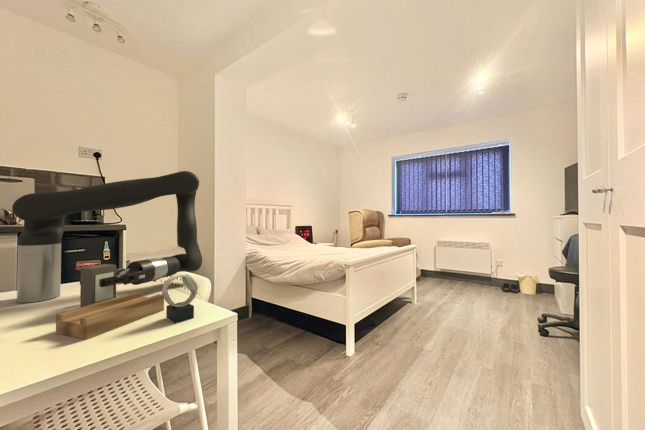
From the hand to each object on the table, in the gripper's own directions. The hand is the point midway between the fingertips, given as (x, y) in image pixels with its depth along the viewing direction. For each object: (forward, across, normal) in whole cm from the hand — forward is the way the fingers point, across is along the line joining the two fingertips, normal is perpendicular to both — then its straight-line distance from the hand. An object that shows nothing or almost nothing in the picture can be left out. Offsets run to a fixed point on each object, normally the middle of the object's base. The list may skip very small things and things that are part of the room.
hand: (90, 282), depth 69 cm
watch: (-4, +27, +8) cm, 29 cm away
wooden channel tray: (+2, +13, +8) cm, 15 cm away
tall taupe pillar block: (-2, 0, +8) cm, 8 cm away
